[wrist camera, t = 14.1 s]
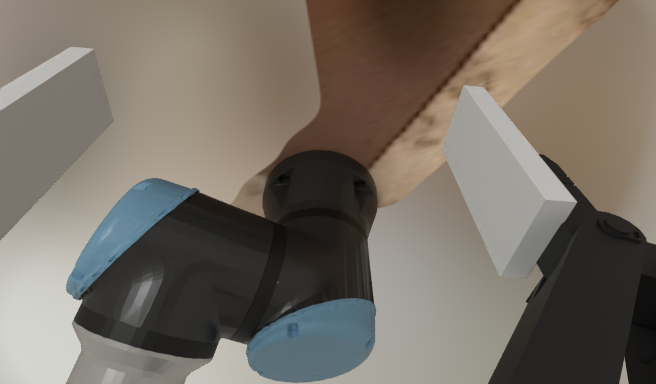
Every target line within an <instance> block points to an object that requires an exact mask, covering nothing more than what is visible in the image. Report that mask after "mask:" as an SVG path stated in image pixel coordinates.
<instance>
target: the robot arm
mask: <svg viewBox="0 0 656 384" xmlns="http://www.w3.org/2000/svg"><path fill="white" fill-rule="evenodd" d="M113 121H114V120H113V116H112V113H111V109H110V106H109V102H108V98H107V94H106V91H105V87H104V84H103V80H102V76H101V73H100V69H99V65H98V62H97V58H96V55H95V51H94V49H88V48H77V47H70V48H68V49H67V50H65V51H63V52H62V53H60V54H58V55H56V56H55V57H53V58H51V59H50V60H48V61H46V62H44V63H43V64H41V65H39V66H38V67H36V68H34V69H33V70H31V71H29V72H28V73H26V74H24V75H23V76H21V77H19V78H17V79H16V80H14V81H12V82H11V83H9V84H7V85H6V86H4V87H2V88H0V240H1V239H2V238H3V237H4V236H5V235H6V234H7V233H8V232H9V231H10V230H11V229H12V227H14V225H15V224H16V223H17V222H18V221H19V220H20V219H21V218H22V217H23V216H24V215H25V214H26V213H27V212H28V211H29V210H30V209H31V208H32V206H33V205H34V204H35V203H36V202H37V201H38V200H39V199H40V198H41V197H42V196H43V195H44V194H45V193H46V191H48V190H49V189H50V187H51V186H52V185H53V184H54V183H55V182H56V181H57V180H58V179H59V178H60V177H61V176H62V175H63V174H64V173H65V172H66V171H67V169H69V167H70V166H71V165H72V164H73V163H74V162H75V161H76V160H77V159H78V158H79V157H80V156H81V155H82V154H83V153H84V152H85V151H86V150H87V148H88V147H89V146H90V145H91V144H92V143H93V142H94V141H95V140H96V139H97V138H98V137H99V136H100V135H101V134H102V133H103V132H104V131H105V129H106V128H107V127H108V126H109V125H110V124H111V123H112V122H113ZM442 150H443V152H444V155H445V157H446V159H447V161H448V163H449V166H450V168H451V170H452V172H453V174H454V177H455V179H456V181H457V183H458V185H459V188H460V190H461V192H462V194H463V197H464V199H465V201H466V203H467V205H468V208H469V210H470V212H471V214H472V216H473V219H474V221H475V223H476V225H477V227H478V230H479V232H480V234H481V236H482V239H483V241H484V243H485V245H486V248H487V250H488V252H489V254H490V256H491V259H492V261H493V263H494V265H495V267H496V270H497V272H498V274H499V276H500V277H502V278H519V279H527V278H528V277H529V275H530V274H531V272H532V271H533V269H534V267H535V266H536V264H537V265H538V266H539V268H540V270H541V272H542V273H543V275H544V276H543V277H542V279H541V280H540V282H539V283H538V284H537V286H536V287H535V289H534V290H533V292H532V293H531V295H530V296H529V297H528V299H527V301H526V302H527V303H528V305H527V307H526V309H525V311H524V313H523V315H522V317H521V319H520V321H519V323H518V325H517V327H516V329H515V331H514V333H513V335H512V337H511V339H510V341H509V343H508V345H507V347H506V349H505V351H504V353H503V355H502V357H501V359H500V361H499V363H498V365H497V367H496V369H495V371H494V373H493V375H492V377H491V379H490V381H489V383H488V384H619V381H620V376H621V371H622V366H623V361H624V356H625V362H626V369H627V375H628V382H629V384H656V245H655V244H652V243H648V242H647V241H646V237H645V236H644V235H643V233H642V232H641V231H640V230H639V229H638V228H637V227H636V226H634V225H633V224H631V223H630V222H628V221H627V220H625V219H623V218H621V217H619V216H616V215H613V214H610V213H607V212H601V211H597V210H596V209H595V208H594V206H593V205H592V204H591V203H590V202H589V201H588V199H587V198H586V197H585V196H584V195H583V194H582V192H581V191H580V190H579V189H578V188H577V187H576V186H574V183H573V182H572V181H571V180H570V178H569V177H566V176H567V175H566V174H565V173H564V171H563V170H562V169H561V168H560V167H559V166H558V164H556V163H554V162H553V161H552V160H550V159H549V158H547V157H546V156H545V155H541V154H538V153H537V152H536V151H535V150H534V148H533V147H532V146H531V145H530V144H529V142H528V141H527V140H526V139H525V137H524V136H523V135H522V134H521V133H520V131H519V130H518V129H517V127H515V125H514V124H513V123H512V122H511V120H510V119H509V118H508V116H507V115H506V114H505V113H504V112H503V110H502V109H501V108H500V107H499V105H498V104H497V103H496V102H495V100H494V99H493V98H492V97H491V96H490V94H489V93H488V92H487V91H486V89H485V88H484V87H476V86H465V85H463V88H462V91H461V94H460V97H459V100H458V103H457V106H456V109H455V112H454V115H453V118H452V121H451V124H450V127H449V130H448V133H447V136H446V139H445V142H444V145H443V148H442ZM263 210H264V215H265V218H263V217H261V216H258V215H255V214H253V213H250V212H247V211H245V210H242V209H240V208H237V207H234V206H232V205H229V204H227V203H224V202H222V201H219V200H217V199H214V198H212V197H209V196H207V195H205V194H202V193H200V192H199V190H198V189H196V188H193V189H190V188H187V187H184V186H181V185H178V184H175V183H172V182H169V181H166V180H162V179H158V178H152V179H146V180H144V181H141V182H139V183H138V184H136V185H135V186H133V187H132V188H131V189H130V190H129V191H128V192H127V193H126V194H125V195H124V196H123V197H122V198H121V199H120V200H119V201H118V202H117V203H116V205H115V206H114V207H113V208H112V210H111V211H110V212H109V213H108V215H107V216H106V217H105V218H104V220H103V221H102V223H101V224H100V225H99V227H98V228H97V230H96V231H95V232H94V234H93V235H92V237H91V239H90V240H89V241H88V243H87V245H86V246H85V248H84V249H83V251H82V253H81V255H80V256H79V258H78V260H77V262H76V266H75V268H74V270H73V271H72V273H71V275H70V276H69V278H68V281H67V285H66V290H67V292H68V293H69V294H71V295H72V296H73V298H74V299H77V300H81V299H83V301H82V304H81V306H80V308H79V310H78V312H77V314H76V316H75V318H74V320H73V322H72V325H73V328H74V330H75V332H76V334H77V336H78V339H79V341H80V343H81V349H82V351H81V353H80V355H79V357H78V359H77V361H76V363H75V365H74V368H73V370H72V372H71V374H70V376H69V378H68V380H67V382H66V384H184V383H185V380H186V377H187V376H188V375H189V374H190V373H191V372H193V371H194V370H196V369H198V368H200V367H201V366H203V365H205V364H207V363H209V362H210V361H211V360H212V359H213V356H214V353H215V351H216V348H217V345H218V342H219V340H220V339H221V338H226V339H229V340H233V341H236V342H240V343H243V344H247V351H246V354H247V357H248V362H249V365H250V367H251V368H252V369H253V370H254V371H257V373H259V375H261V376H263V377H265V378H268V379H272V380H276V381H283V382H295V383H296V382H312V381H319V380H325V379H328V378H333V377H336V376H339V375H342V374H344V373H347V372H349V371H351V370H352V369H354V368H356V367H357V366H358V365H360V364H361V363H362V362H364V361H365V359H367V357H368V356H369V355H370V353H371V351H372V349H373V346H374V343H375V315H376V309H375V305H374V299H373V291H372V281H371V271H370V262H369V252H368V242H367V239H368V236H369V233H370V230H371V227H372V224H373V221H374V219H375V216H376V212H377V193H376V187H375V183H374V181H373V179H372V177H371V175H370V174H369V172H368V171H367V170H366V169H365V168H364V167H363V166H362V165H361V164H360V163H358V162H357V161H355V160H354V159H352V158H350V157H348V156H346V155H343V154H340V153H336V152H331V151H321V150H317V151H307V152H302V153H299V154H296V155H293V156H291V157H289V158H287V159H285V160H283V161H282V162H281V163H279V164H278V165H277V166H276V167H275V168H274V169H273V170H272V172H271V173H270V175H269V177H268V179H267V181H266V184H265V189H264V193H263Z"/></svg>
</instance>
